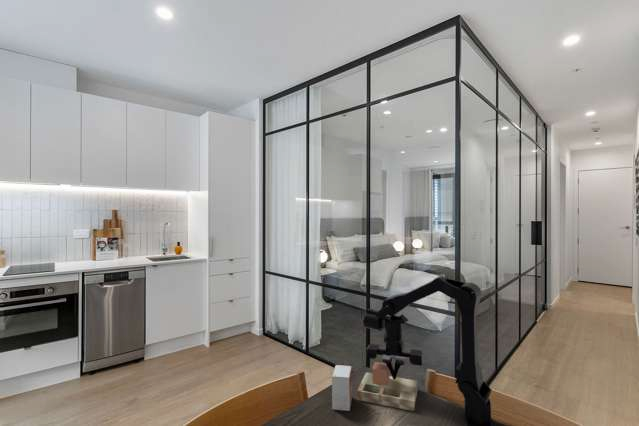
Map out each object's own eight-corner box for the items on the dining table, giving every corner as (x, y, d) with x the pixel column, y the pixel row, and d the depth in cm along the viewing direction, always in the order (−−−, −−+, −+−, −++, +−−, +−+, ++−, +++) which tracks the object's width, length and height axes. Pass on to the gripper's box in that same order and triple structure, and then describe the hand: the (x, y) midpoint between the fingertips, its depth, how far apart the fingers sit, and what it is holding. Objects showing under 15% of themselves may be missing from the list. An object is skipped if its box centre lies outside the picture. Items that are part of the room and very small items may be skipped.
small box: (349, 411, 100) (349, 377, 100) (332, 409, 101) (331, 376, 101) (352, 397, 107) (352, 365, 107) (335, 395, 109) (335, 364, 109)
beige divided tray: (417, 389, 112) (417, 380, 112) (414, 411, 99) (414, 401, 99) (366, 380, 118) (366, 372, 118) (357, 399, 106) (357, 390, 106)
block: (389, 378, 113) (389, 364, 113) (387, 385, 109) (387, 370, 109) (375, 376, 115) (375, 362, 115) (372, 382, 111) (372, 368, 111)
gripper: (423, 328, 115) (424, 372, 115) (371, 323, 121) (372, 364, 121) (421, 340, 104) (422, 388, 104) (364, 333, 111) (365, 378, 111)
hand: (394, 379), depth 111 cm, fingers closed
